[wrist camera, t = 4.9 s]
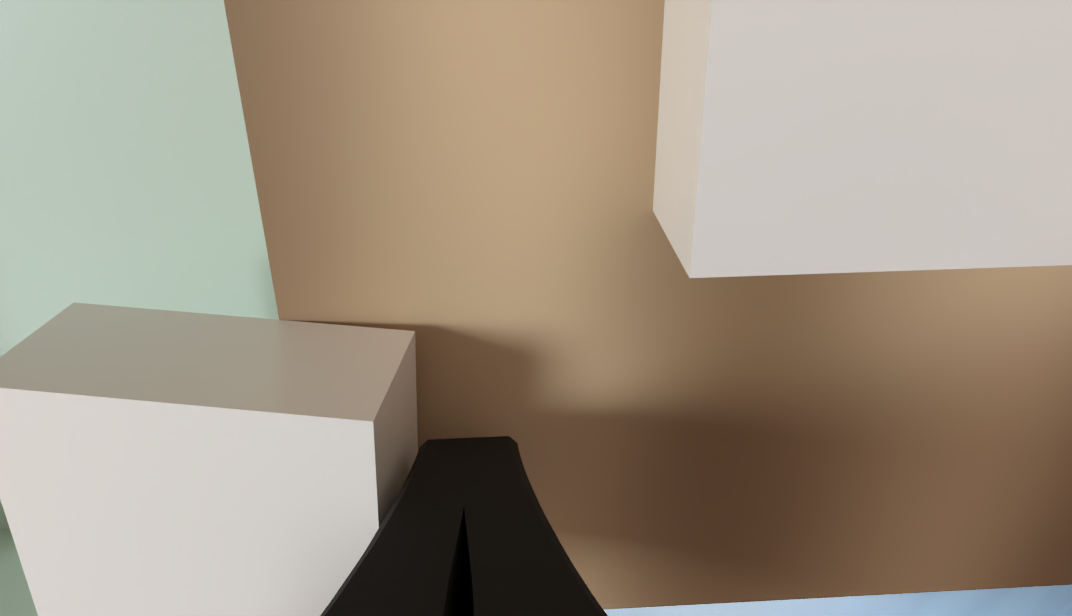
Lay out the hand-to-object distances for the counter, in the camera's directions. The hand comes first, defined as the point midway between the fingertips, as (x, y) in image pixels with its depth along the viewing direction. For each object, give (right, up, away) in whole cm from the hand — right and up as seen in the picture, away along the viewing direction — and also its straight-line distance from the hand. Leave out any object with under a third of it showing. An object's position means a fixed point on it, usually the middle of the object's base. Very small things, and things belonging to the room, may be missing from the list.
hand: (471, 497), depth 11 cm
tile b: (+4, +6, -2) cm, 8 cm away
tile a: (-3, 0, 0) cm, 3 cm away
